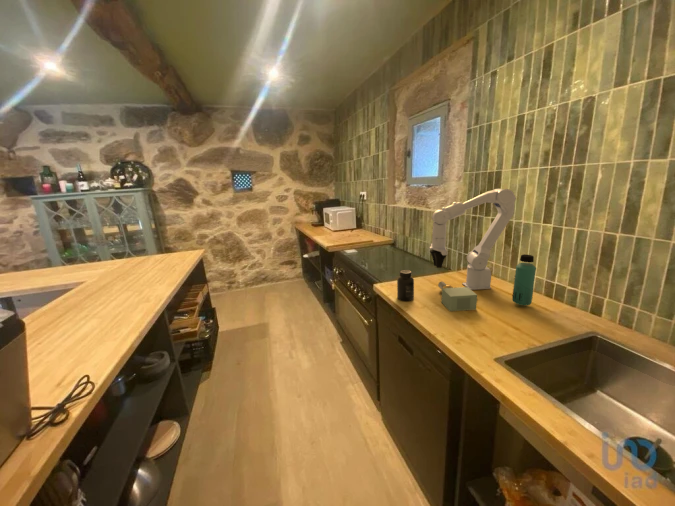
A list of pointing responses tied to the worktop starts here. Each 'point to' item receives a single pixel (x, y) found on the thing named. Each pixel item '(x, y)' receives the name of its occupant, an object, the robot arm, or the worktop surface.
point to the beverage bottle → (524, 281)
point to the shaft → (444, 285)
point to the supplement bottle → (405, 286)
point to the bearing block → (459, 299)
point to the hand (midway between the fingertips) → (437, 266)
